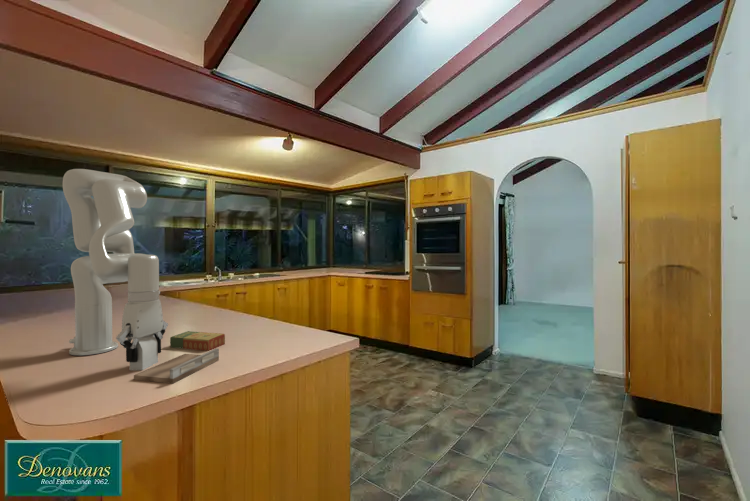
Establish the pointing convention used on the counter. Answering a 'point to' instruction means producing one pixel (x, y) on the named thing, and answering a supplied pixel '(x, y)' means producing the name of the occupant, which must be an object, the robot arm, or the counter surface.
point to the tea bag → (146, 353)
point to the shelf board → (178, 367)
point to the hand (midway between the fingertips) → (144, 356)
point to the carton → (197, 340)
